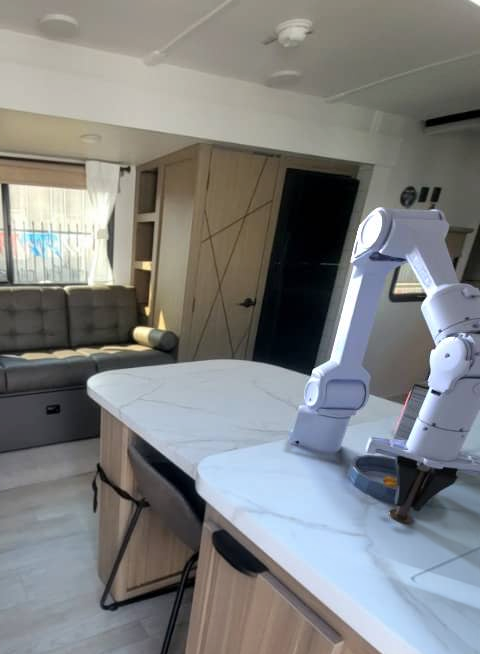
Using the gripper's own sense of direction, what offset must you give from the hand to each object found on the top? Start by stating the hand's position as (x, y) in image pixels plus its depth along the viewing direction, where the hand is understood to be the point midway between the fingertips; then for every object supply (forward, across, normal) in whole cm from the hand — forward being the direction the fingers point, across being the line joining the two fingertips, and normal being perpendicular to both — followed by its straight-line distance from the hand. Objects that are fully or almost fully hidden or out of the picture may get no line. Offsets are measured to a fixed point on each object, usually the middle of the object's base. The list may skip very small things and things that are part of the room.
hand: (406, 505), depth 61 cm
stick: (+3, 0, 0) cm, 3 cm away
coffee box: (+4, +5, +27) cm, 28 cm away
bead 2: (+2, -1, +9) cm, 10 cm away
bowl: (+4, -1, +10) cm, 11 cm away
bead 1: (+2, -1, +11) cm, 11 cm away
